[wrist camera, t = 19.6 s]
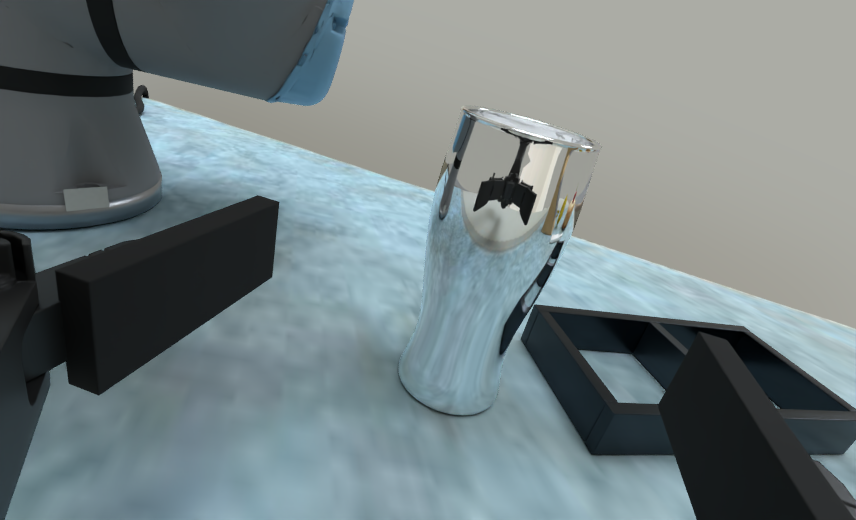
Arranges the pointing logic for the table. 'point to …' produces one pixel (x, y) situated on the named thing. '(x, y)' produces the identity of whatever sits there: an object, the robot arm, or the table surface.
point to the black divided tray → (668, 378)
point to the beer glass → (491, 250)
